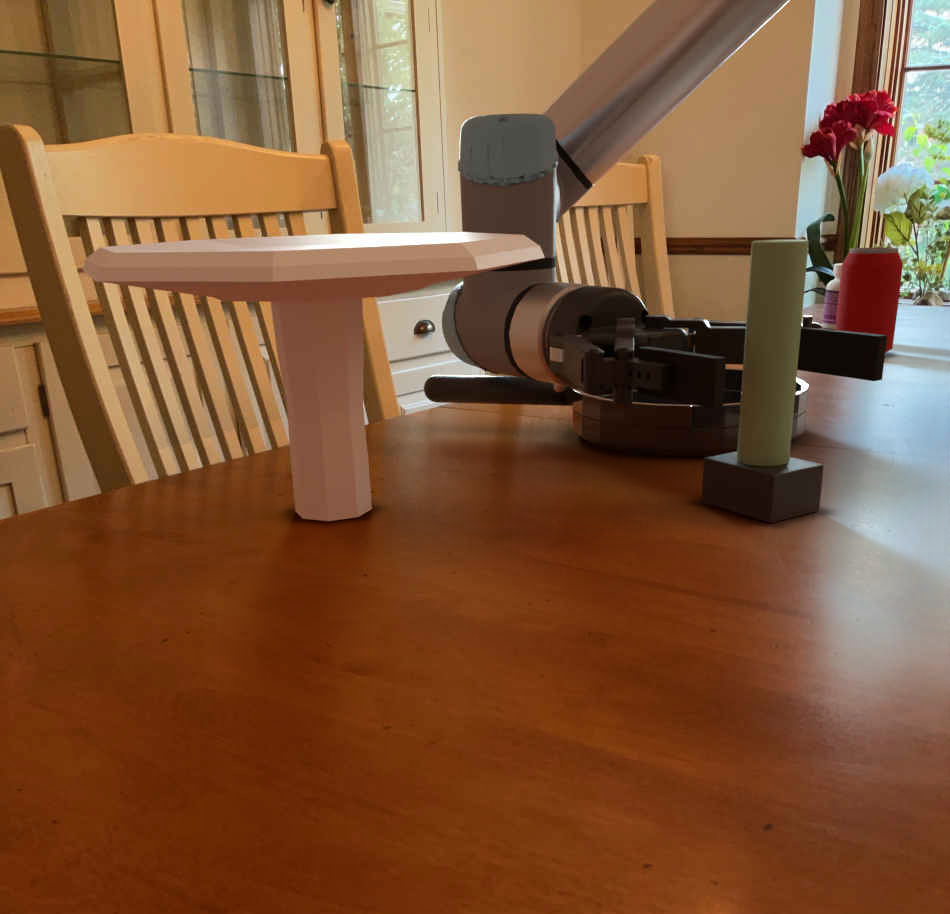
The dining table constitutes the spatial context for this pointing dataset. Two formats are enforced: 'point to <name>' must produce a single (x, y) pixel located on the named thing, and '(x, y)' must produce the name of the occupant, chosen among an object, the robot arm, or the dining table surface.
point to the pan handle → (494, 390)
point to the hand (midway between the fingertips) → (805, 370)
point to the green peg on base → (768, 397)
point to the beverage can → (870, 292)
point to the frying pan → (670, 421)
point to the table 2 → (315, 324)
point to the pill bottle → (832, 300)
